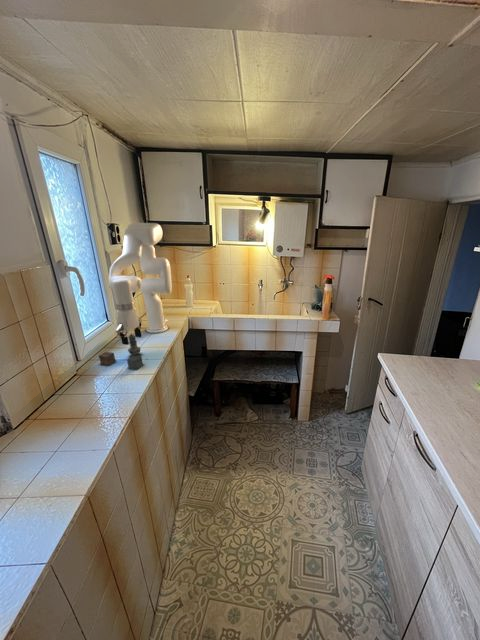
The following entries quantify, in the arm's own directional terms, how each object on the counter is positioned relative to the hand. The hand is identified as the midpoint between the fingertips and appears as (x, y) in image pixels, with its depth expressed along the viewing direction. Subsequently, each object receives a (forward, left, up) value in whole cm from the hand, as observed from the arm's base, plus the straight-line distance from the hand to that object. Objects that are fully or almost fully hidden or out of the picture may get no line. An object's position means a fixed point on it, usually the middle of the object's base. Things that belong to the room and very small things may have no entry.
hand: (132, 340), depth 137 cm
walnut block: (+10, -8, -8) cm, 15 cm away
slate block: (+10, +7, -8) cm, 15 cm away
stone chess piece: (0, 0, -9) cm, 9 cm away
